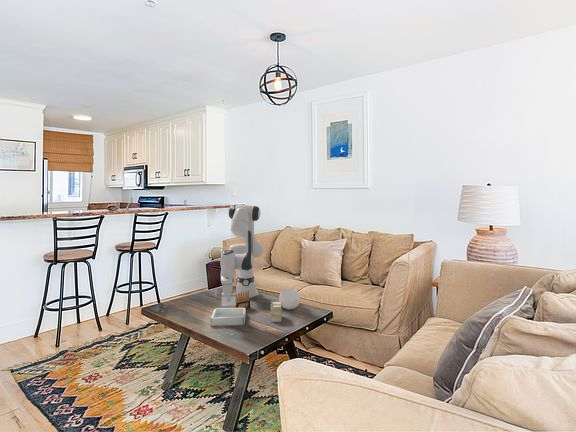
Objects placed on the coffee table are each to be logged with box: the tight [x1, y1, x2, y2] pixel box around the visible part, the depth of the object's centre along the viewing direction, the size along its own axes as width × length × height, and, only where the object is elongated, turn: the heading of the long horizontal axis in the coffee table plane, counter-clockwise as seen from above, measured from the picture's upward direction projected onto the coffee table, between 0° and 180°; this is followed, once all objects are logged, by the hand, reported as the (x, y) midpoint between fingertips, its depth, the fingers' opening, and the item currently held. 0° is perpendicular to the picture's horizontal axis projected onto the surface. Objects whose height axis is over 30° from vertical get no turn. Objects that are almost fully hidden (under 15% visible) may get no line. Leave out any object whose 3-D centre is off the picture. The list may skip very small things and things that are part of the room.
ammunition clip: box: [234, 290, 251, 310], centre depth 231 cm, size 11×2×12 cm, turn 127°
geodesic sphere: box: [278, 287, 301, 311], centre depth 231 cm, size 15×14×14 cm
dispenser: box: [270, 300, 282, 323], centre depth 212 cm, size 9×6×10 cm
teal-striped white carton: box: [221, 291, 236, 307], centre depth 210 cm, size 3×8×7 cm, turn 94°
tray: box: [210, 307, 247, 327], centre depth 210 cm, size 17×19×5 cm
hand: (228, 300), depth 210 cm, fingers closed on teal-striped white carton, 3 cm apart
